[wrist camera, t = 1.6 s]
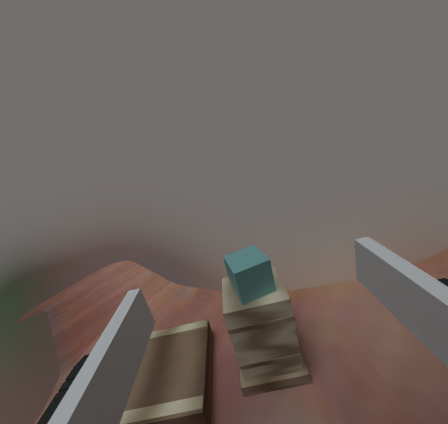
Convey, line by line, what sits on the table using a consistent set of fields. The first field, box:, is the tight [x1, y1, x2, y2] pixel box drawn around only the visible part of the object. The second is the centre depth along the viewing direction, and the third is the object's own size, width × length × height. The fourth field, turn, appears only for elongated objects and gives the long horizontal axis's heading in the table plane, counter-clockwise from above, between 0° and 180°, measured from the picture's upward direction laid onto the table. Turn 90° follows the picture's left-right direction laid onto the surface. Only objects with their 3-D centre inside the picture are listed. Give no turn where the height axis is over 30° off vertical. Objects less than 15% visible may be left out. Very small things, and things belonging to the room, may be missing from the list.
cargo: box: [223, 245, 276, 305], centre depth 24 cm, size 4×4×4 cm
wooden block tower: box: [222, 266, 311, 397], centre depth 26 cm, size 8×7×12 cm
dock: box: [120, 320, 213, 424], centre depth 28 cm, size 12×12×3 cm
